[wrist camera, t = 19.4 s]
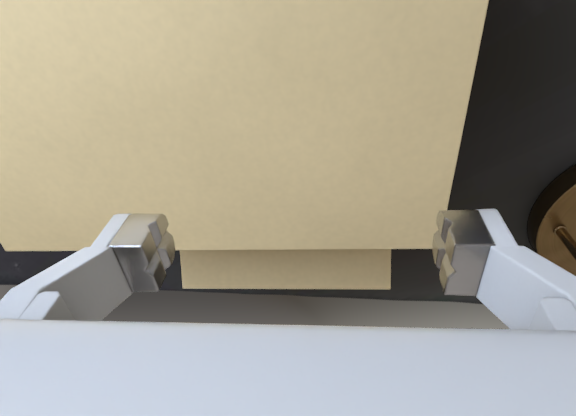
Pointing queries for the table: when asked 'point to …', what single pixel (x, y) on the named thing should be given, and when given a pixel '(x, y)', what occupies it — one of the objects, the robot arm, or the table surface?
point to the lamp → (556, 222)
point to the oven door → (286, 269)
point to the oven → (233, 119)
